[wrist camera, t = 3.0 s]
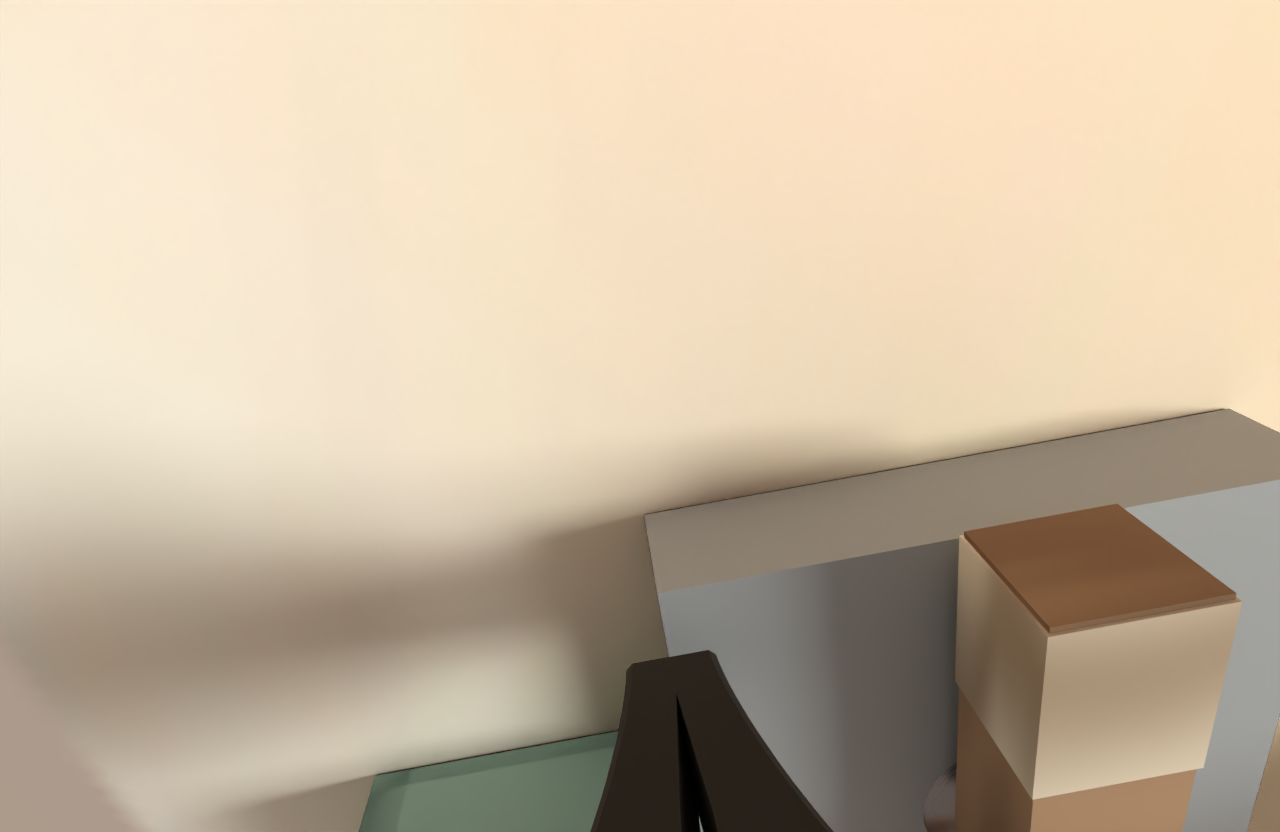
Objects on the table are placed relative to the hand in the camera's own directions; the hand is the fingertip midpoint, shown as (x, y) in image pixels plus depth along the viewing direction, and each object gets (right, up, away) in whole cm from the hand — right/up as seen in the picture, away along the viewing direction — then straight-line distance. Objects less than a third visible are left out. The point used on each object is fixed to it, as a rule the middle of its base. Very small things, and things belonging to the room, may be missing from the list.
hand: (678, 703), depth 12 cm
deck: (+7, -4, +6) cm, 10 cm away
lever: (+7, -4, +3) cm, 8 cm away
